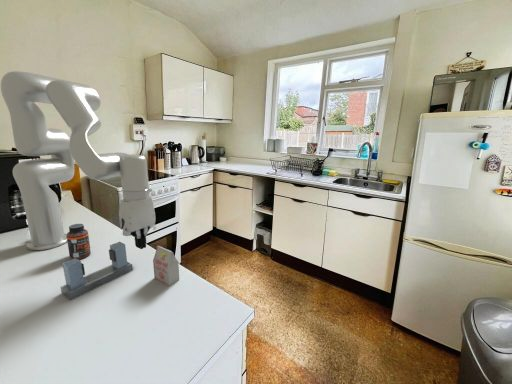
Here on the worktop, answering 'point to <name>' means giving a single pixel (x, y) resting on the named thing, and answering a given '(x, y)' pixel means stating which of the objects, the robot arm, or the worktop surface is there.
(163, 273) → the white drink carton
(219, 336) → the worktop surface
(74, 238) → the supplement bottle
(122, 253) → the block
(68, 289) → the rail
